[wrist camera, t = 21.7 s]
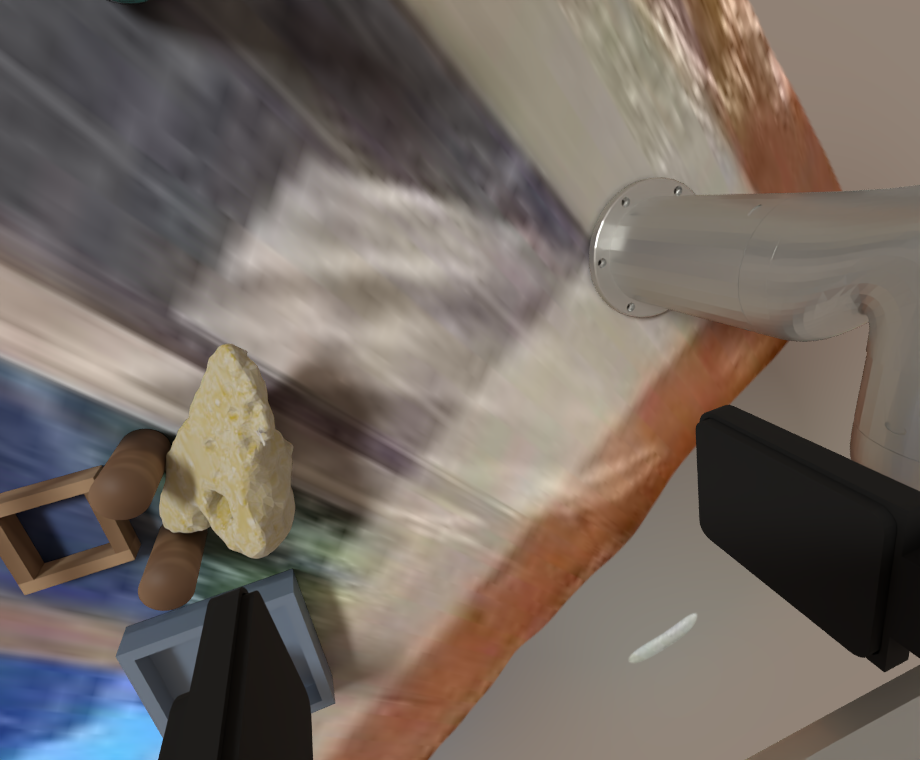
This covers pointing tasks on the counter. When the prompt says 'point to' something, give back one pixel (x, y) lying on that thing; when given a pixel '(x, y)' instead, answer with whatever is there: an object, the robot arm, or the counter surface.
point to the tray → (178, 636)
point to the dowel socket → (14, 546)
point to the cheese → (230, 461)
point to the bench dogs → (129, 495)
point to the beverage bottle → (130, 1)
